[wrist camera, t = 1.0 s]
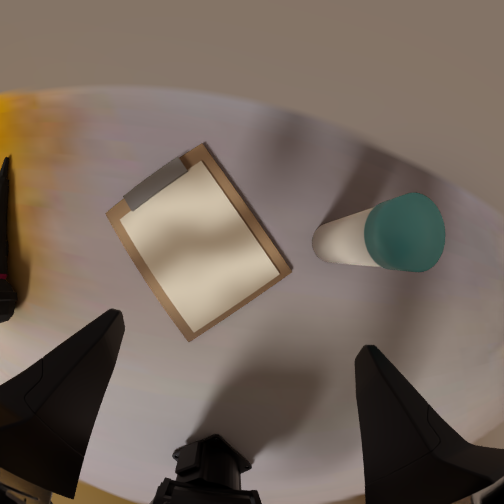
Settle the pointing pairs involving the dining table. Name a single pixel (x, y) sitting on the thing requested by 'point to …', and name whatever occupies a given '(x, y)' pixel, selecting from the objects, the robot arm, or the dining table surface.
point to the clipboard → (196, 242)
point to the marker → (385, 236)
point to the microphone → (4, 251)
